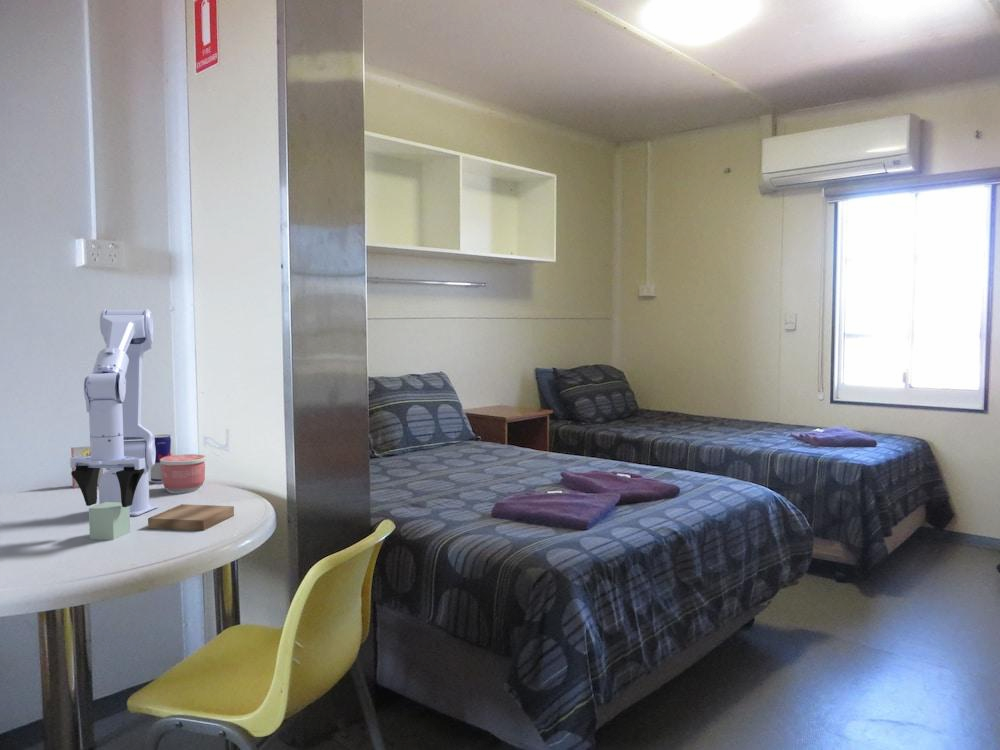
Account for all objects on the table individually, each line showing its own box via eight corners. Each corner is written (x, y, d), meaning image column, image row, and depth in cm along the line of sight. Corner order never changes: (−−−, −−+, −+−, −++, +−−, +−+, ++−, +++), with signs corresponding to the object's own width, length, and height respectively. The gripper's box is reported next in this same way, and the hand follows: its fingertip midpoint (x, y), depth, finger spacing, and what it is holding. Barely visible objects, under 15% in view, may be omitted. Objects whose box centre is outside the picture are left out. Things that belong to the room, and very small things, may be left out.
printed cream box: (72, 485, 194) (71, 446, 193) (102, 482, 197) (101, 444, 196) (72, 488, 191) (71, 448, 190) (103, 485, 194) (101, 446, 193)
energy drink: (164, 484, 195) (163, 437, 194) (146, 483, 196) (144, 437, 195) (177, 480, 200) (176, 434, 200) (159, 479, 201) (158, 434, 201)
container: (196, 494, 183) (195, 461, 183) (153, 494, 184) (152, 461, 183) (213, 485, 194) (212, 454, 193) (172, 485, 194) (171, 454, 193)
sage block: (89, 539, 146) (88, 507, 145) (107, 531, 151) (106, 501, 150) (113, 540, 145) (112, 508, 145) (130, 533, 150) (129, 502, 150)
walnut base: (148, 528, 153) (147, 518, 153) (182, 513, 165) (181, 504, 165) (203, 530, 151) (203, 520, 151) (234, 515, 163) (233, 506, 163)
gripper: (57, 437, 144) (60, 508, 145) (127, 439, 141) (130, 511, 142) (83, 432, 151) (86, 500, 152) (151, 433, 148) (153, 502, 149)
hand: (109, 505), depth 147 cm, fingers open, 7 cm apart
